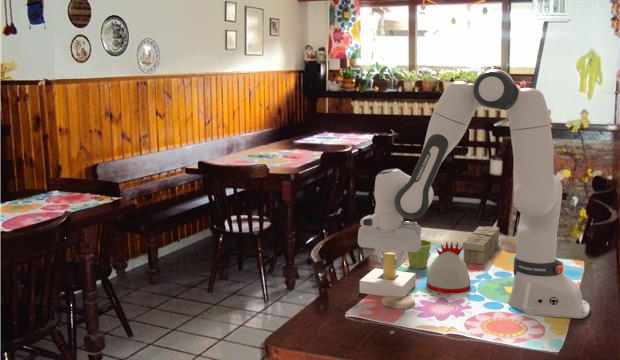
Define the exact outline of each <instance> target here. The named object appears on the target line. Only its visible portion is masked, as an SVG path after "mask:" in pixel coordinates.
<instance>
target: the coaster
mask: <svg viewBox="0 0 620 360" xmlns="http://www.w3.org/2000/svg"><path fill="white" fill-rule="evenodd" d="M381 305H382V306H383V305H384V306H383V307H385V308H389V309H393V310H406V309H411V308H413V307H415V305H416V301H415V299H414V298H412V297H409V296H407V295H406V296H403V297H399V296H388V297H386V296H384V297H383V298H382V299H381Z"/></svg>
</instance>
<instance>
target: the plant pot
mask: <svg viewBox="0 0 620 360" xmlns="http://www.w3.org/2000/svg"><path fill="white" fill-rule="evenodd" d="M432 245H433V242H432V241H429V240H425V239H421V249H420V250H419V251H417V252H408V251H407V256H408V258H407V259H408V264H409V265H408V266H409V267H410V268H413V269H417V270H418V269H419V270H421V269H424V268H427V267H428V261H429V260H428V259H429V255H430V254H429V253H430V250H431V247H432Z"/></svg>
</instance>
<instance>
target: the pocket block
mask: <svg viewBox="0 0 620 360" xmlns="http://www.w3.org/2000/svg"><path fill="white" fill-rule="evenodd" d="M416 274H417V273H415V272H408V271H407V272H406V271H401V270H400V271H399V270H396V279H395V280H385V279H383V268H377V267H375V268H373V269H372V270H371V271H370V272H368V273H367V274H365V276H363V277H362V278H361V279H359V293H360V294H365V295H366V294H367V295H373V296H380V297H388V296H399V297H403V296H406V297H407V295H408V294H409V293H410V291H411V290H413V289H414V287H415V286H416V280H417V278H416V276H417V275H416Z"/></svg>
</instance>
